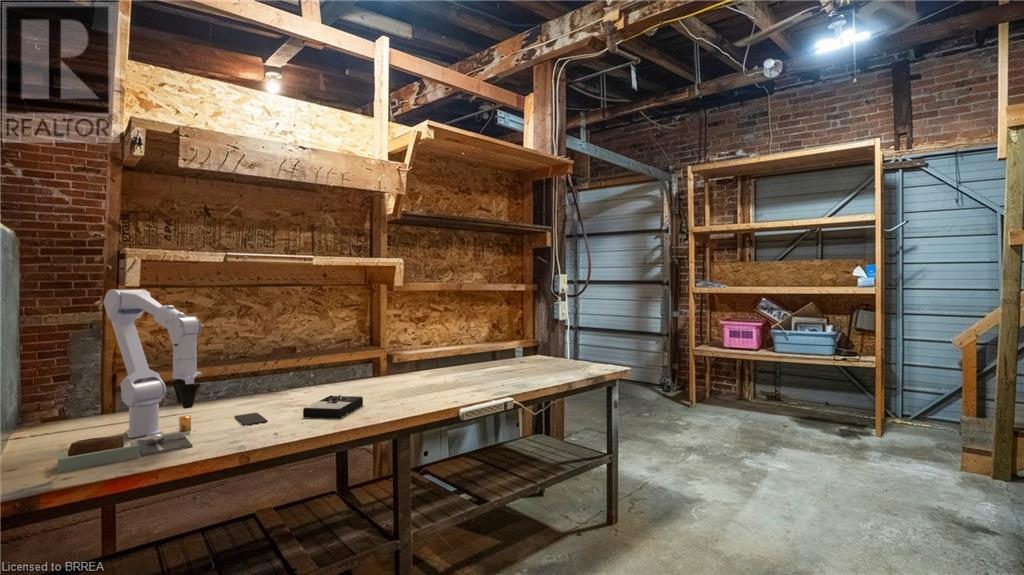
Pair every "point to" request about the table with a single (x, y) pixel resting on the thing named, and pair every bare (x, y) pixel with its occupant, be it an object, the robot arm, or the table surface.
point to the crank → (183, 431)
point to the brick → (95, 445)
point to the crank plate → (163, 445)
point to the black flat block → (333, 407)
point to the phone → (250, 419)
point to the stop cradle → (97, 457)
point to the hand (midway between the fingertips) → (185, 405)
